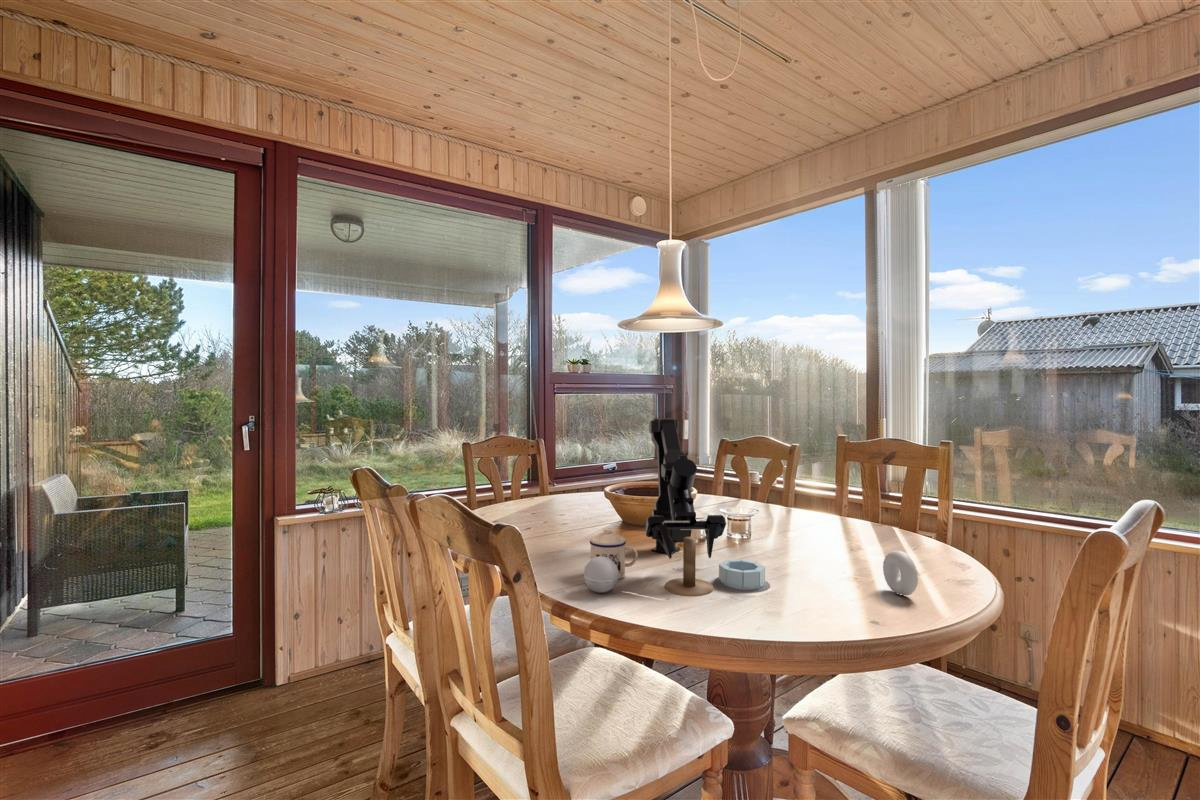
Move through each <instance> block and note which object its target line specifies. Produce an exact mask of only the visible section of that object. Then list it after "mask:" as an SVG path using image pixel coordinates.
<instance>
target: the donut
mask: <svg viewBox="0 0 1200 800" xmlns="http://www.w3.org/2000/svg"><path fill="white" fill-rule="evenodd" d="M882 570H883V571H882V572H883V576H884V580H885V582H886V584H887V587H889V589H890V590H891V591H892V592H893V591H894V592H893V593H895V592H896V593H898V594H902V595H907V596H911V595H912V594H913V593H914V592H915V591H916V589H917V587H918V584H919V583H918V582H919V576H918V570H917V566H916V565H915V562H914V560H913V559H912V558H911V557H910V556H909V554H907V553H905V552H904V551H902V550H896V549H894V550H891V551H890V552H888V553H887V555H885V557H884V560H883V564H882ZM896 593H895V594H896ZM898 594H897V595H898Z"/></svg>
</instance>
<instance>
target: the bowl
mask: <svg viewBox="0 0 1200 800" xmlns="http://www.w3.org/2000/svg"><path fill="white" fill-rule="evenodd" d="M718 577H719V579H720V582H721V584H722V585H724V586H726V587H728V588H732V589H737V590H757V589H760V588H762V587H763V586H764V582H765V581H766V567H765V566H764V565H763V564H761V563H759V562H757V561H753V560H746V559H726V560H723V561H722V562H720V563H718Z"/></svg>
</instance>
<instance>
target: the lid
mask: <svg viewBox="0 0 1200 800" xmlns="http://www.w3.org/2000/svg"><path fill="white" fill-rule="evenodd" d="M696 541H697V540H696V537H694V536H691V537H684V538H683V542H682V543H683V544H682V545H683V546H682V547H683V549H682V550H683V552H682V553H683V554H682V555H683V557H682V558H683V559H682V560H683V561H682V562H683V565H682V566H683V568H682V572H683V573H682V577H681V578H678V577H677V578H672V579H671V580H670V579H669V580H668V581H666V582H665V589H666V590H667V591H669V592H670V593H672V594H675V595H679V596H685V597H686V596H687V597H699V596H705V595H709V594H711V593H713V592H714V586H713V584H712V583H711V582H709V581H707V580H704V579H698V578H696V563H697V562H696V557H697V556H696V552H697V551H696V548H697V546H696V545H697V544H696V543H697V542H696Z"/></svg>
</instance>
